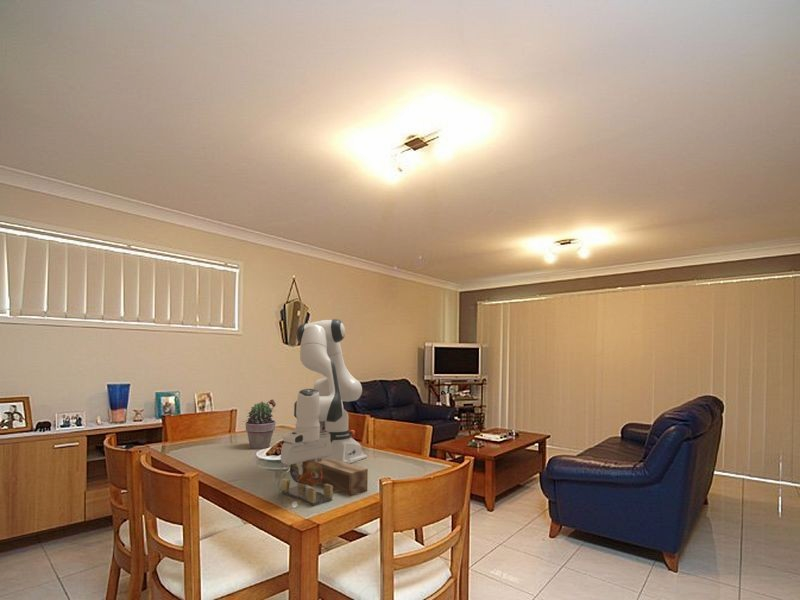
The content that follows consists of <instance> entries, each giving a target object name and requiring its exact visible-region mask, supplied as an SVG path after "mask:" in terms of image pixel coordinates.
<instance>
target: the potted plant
mask: <svg viewBox="0 0 800 600" xmlns="http://www.w3.org/2000/svg"><path fill="white" fill-rule="evenodd" d="M270 405H271V406H272V408H271V407H270ZM276 405H277V403H276V402H275V400H274V399H270V400H269V401H267V402H263V400H262V401H261V402H259V403H254V406H251V409H250V411H249V412H248V415H247V416H246V418H247V419H246V420H244V421H243V420H242V421H241V422H243V423H244V422H245V431H246V432H247V438H248V442H249V447H250V449H252V450H262V449H268V448H269V447H270V444H271V440H272V438H273V434H274V431H275V429H276V423H277V422H276V420H273V417H274V415H273V414H272V413H273V412H275V411H276V409H275V410H274V408H275V407H276ZM245 411H248V410H245Z"/></svg>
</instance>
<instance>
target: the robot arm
mask: <svg viewBox="0 0 800 600" xmlns="http://www.w3.org/2000/svg"><path fill="white" fill-rule="evenodd" d="M345 334H346V327H345V324H344V323H343V321H341V319H337V318H334V319H333V318H332V319H322V320H318V321H317V320H315V321H312V322H308V323H306V322H305V323H302V324H300V325H299V326H298V327H297V328H296V340H297V342H298V344H299V345H300V350H299V359H300V362H301V364H302V365H303V366H304V367H305V368H307V369H308V370H310V371H312V372H316V373H318V374H321V375H322V376H324V377H323V378H319V379H317V380H316V381H315V382H314V385H313V388H304V389H301V390H299V391H298V393H297V394H298V395H297V397H296V398H297V399H296V401H295V402H294V404H293V405H294V406H293V407H294V409H293V410H294V411H293V416H294V417H295V418H296V423H295V429H293V430H291V431H289V432H287V433H286V434H283V436H282V441H283V444H281V449H280V462H281V464H282V465H285V466H291V464H295V463H296V465H297V467H298V469H299V474H300V475H302V474H305V469H303V468H302V466H301V465H303V462H305V461H309V460H311V461H316V462H318V459H321V461H324V460H329V459H334V460H338V461H341V462H345V463H350V464H353V463H356V462H358V461H361V460H363V459H367V455H366V454H365V453H363V450H362V446H361V444H360V443H359V442H358V441H356V440H355V439H354V438H353V437H352V435H355V434H356V432H355V430H353V429H351V430H350V429H349V413H348V411H347V410H346V409H345V408H344V404H343V402H347V403H348V402H355V401H357V400H359V399H360V398H361V396H362V394H363V386H362V384H361V382H360V380H358V379H356V377H354V376H353V375H352V374H351V373H350V371H349V370H348V368H347V366H346V363H345V360H344V355H343V350H342V346H341V341H343V339H344V338H345ZM319 421H325V431H324V432H320V423H319Z"/></svg>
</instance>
